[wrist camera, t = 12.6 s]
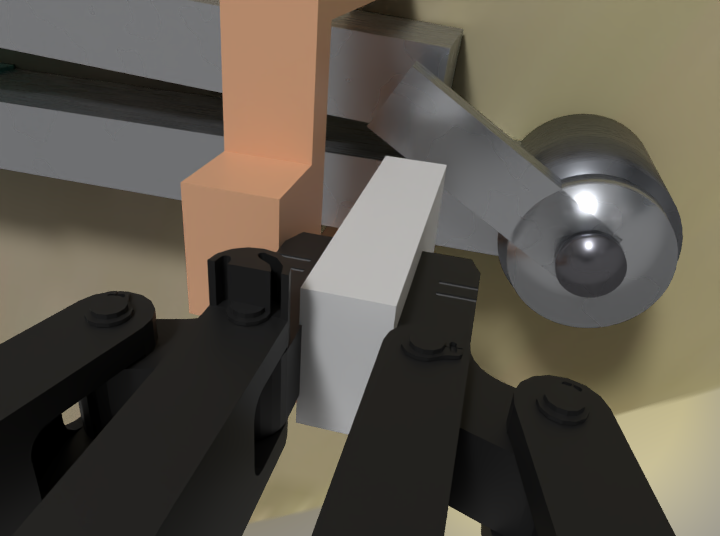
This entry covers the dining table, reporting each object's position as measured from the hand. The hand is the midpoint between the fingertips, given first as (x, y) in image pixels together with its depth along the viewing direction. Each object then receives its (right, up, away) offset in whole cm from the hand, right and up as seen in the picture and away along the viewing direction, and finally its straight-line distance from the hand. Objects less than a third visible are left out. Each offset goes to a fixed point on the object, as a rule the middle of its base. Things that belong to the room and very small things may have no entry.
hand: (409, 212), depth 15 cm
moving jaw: (-4, +5, +8) cm, 10 cm away
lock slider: (-1, +4, +7) cm, 8 cm away
